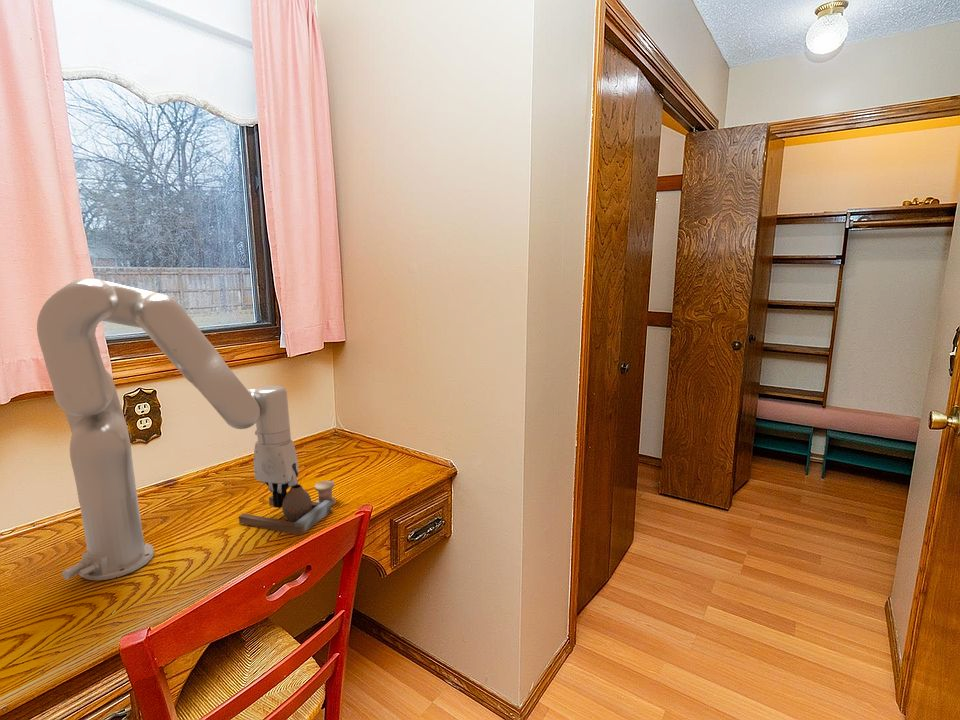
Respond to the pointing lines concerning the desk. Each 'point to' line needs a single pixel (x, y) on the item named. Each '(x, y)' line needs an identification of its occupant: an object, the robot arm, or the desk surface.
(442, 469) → the desk surface
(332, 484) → the thread spool
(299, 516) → the vase
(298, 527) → the channel
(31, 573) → the desk surface
